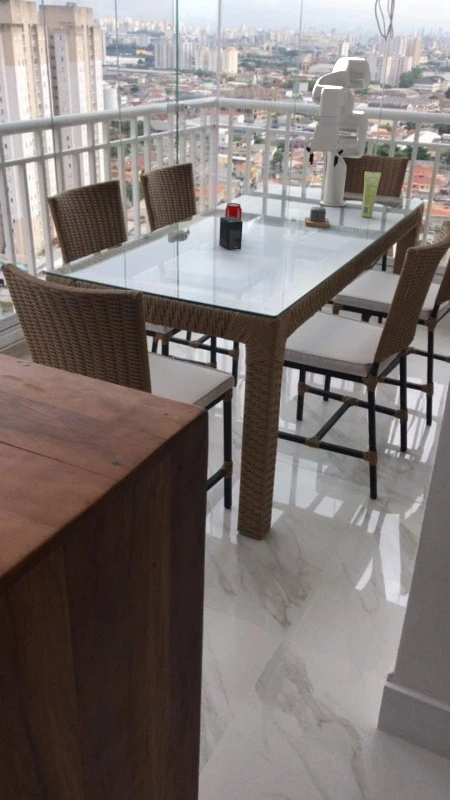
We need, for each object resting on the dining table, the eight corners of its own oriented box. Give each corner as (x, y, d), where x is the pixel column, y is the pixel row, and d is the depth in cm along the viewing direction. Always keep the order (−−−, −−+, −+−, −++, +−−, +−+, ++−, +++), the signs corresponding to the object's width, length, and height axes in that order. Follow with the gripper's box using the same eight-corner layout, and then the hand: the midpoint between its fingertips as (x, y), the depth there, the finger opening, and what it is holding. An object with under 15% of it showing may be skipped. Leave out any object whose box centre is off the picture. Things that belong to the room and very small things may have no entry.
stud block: (304, 220, 305) (305, 208, 303) (327, 221, 305) (329, 210, 303) (305, 226, 297) (306, 213, 294) (329, 227, 296) (330, 215, 294)
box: (241, 249, 259) (243, 220, 254) (227, 250, 257) (229, 221, 252) (232, 244, 265) (233, 216, 261) (218, 245, 263) (219, 216, 258)
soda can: (242, 234, 279) (244, 204, 273) (236, 238, 273) (238, 207, 268) (228, 232, 281) (229, 202, 275) (221, 235, 276) (223, 204, 270)
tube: (366, 214, 322) (372, 170, 313) (375, 216, 319) (381, 172, 310) (358, 215, 319) (364, 171, 310) (367, 218, 316) (373, 173, 307)
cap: (327, 220, 301) (328, 208, 298) (319, 222, 296) (321, 210, 294) (314, 218, 304) (316, 206, 302) (307, 220, 300) (308, 208, 297)
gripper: (305, 120, 280) (301, 164, 288) (348, 123, 277) (343, 168, 285) (307, 118, 287) (303, 162, 295) (350, 121, 283) (344, 165, 291)
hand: (323, 165), depth 290 cm, fingers open, 9 cm apart
